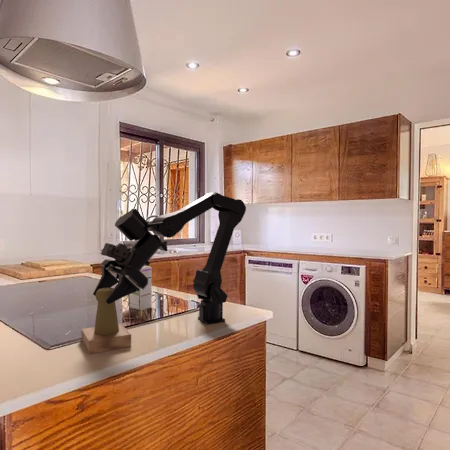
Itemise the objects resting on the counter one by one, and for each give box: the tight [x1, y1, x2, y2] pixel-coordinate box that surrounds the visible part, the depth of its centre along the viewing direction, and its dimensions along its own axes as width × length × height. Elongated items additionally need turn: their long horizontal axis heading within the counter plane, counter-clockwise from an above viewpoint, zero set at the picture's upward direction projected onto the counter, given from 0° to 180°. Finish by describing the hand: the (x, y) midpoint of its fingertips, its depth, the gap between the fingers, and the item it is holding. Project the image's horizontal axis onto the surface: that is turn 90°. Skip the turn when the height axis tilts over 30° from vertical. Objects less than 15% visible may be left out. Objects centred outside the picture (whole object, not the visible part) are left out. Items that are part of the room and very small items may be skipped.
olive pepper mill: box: [94, 287, 119, 335], centre depth 90 cm, size 6×6×11 cm
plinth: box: [80, 322, 132, 355], centre depth 90 cm, size 10×10×3 cm
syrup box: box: [128, 265, 153, 311], centre depth 123 cm, size 6×6×14 cm
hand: (100, 299), depth 89 cm, fingers open, 9 cm apart
